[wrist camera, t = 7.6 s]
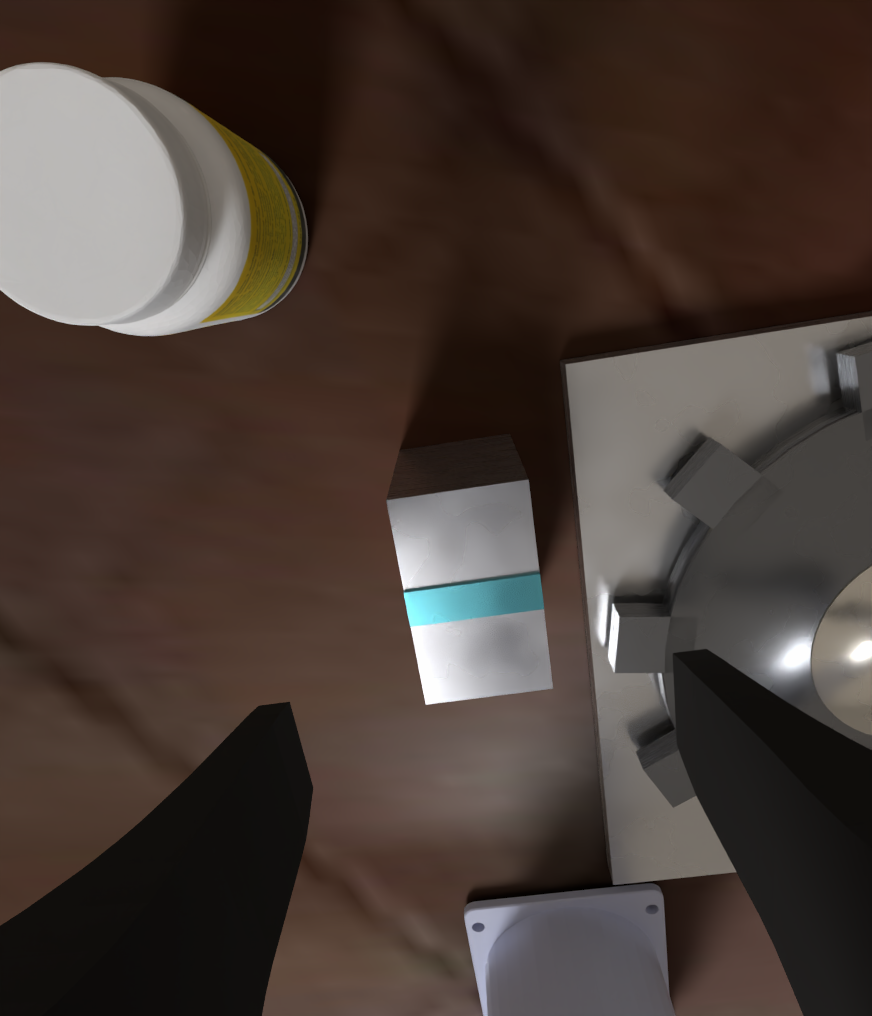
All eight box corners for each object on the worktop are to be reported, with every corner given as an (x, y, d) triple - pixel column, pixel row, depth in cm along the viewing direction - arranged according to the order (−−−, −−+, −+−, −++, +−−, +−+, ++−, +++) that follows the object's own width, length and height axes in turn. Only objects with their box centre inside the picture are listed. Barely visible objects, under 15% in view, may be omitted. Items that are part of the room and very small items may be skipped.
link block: (530, 602, 23) (553, 690, 18) (429, 615, 23) (425, 706, 18) (509, 433, 21) (528, 480, 16) (399, 449, 21) (385, 501, 16)
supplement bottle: (277, 116, 18) (140, -15, 10) (333, 293, 19) (253, 306, 11) (114, 169, 18) (-142, 85, 10) (181, 338, 20) (2, 380, 12)
